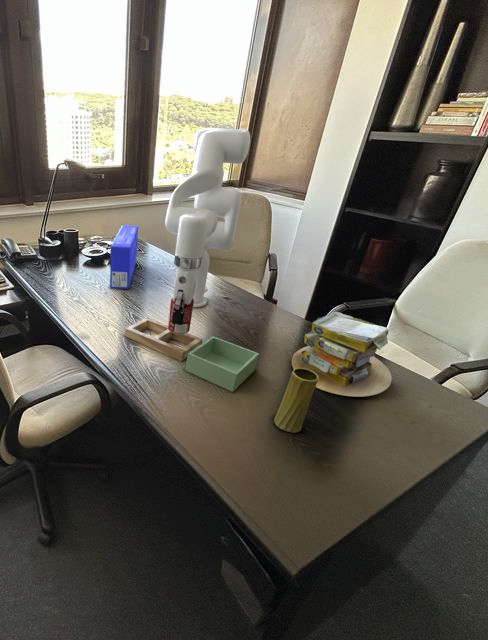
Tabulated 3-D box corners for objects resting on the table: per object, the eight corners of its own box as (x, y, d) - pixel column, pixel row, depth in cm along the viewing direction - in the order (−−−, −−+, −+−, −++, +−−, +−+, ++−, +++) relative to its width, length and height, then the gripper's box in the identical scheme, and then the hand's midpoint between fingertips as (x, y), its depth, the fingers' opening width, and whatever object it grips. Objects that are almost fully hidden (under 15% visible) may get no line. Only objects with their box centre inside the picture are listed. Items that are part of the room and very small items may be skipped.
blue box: (120, 261, 191) (122, 224, 182) (136, 263, 191) (139, 226, 181) (108, 288, 158) (110, 245, 149) (128, 290, 157) (131, 246, 148)
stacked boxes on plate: (337, 406, 94) (362, 349, 86) (273, 356, 115) (289, 306, 106) (407, 391, 101) (437, 338, 93) (336, 347, 122) (355, 299, 113)
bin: (209, 351, 115) (212, 335, 113) (254, 370, 107) (259, 353, 105) (184, 370, 106) (187, 353, 103) (232, 392, 98) (237, 374, 95)
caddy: (146, 325, 130) (146, 317, 128) (201, 347, 118) (202, 339, 116) (124, 336, 122) (125, 328, 120) (181, 361, 110) (182, 352, 108)
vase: (269, 415, 90) (285, 366, 83) (293, 415, 90) (311, 366, 83) (281, 433, 85) (299, 382, 77) (306, 432, 85) (327, 382, 78)
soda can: (188, 337, 111) (194, 300, 105) (166, 334, 112) (170, 297, 106) (189, 326, 117) (195, 291, 111) (167, 324, 118) (172, 288, 112)
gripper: (195, 273, 95) (186, 334, 104) (206, 254, 109) (197, 309, 118) (167, 268, 97) (160, 328, 107) (181, 250, 111) (174, 305, 121)
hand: (179, 318), depth 112 cm, fingers closed on soda can, 6 cm apart
